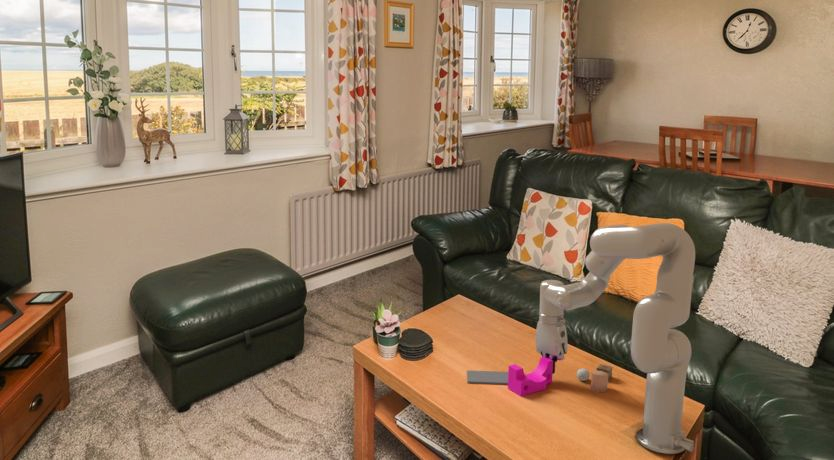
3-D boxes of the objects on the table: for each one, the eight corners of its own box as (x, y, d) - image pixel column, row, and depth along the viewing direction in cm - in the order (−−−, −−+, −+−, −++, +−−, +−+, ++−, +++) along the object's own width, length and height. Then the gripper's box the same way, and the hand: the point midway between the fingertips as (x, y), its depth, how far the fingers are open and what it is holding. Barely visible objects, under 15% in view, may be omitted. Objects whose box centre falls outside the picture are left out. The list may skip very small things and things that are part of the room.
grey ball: (591, 381, 188) (592, 369, 187) (584, 384, 186) (584, 372, 185) (581, 377, 191) (582, 365, 190) (573, 379, 189) (574, 368, 188)
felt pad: (517, 373, 193) (517, 372, 193) (520, 385, 184) (520, 383, 184) (466, 372, 194) (466, 370, 194) (467, 383, 185) (467, 381, 185)
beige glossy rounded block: (610, 389, 182) (611, 374, 181) (601, 393, 179) (602, 378, 178) (597, 384, 186) (597, 369, 185) (587, 388, 183) (588, 373, 182)
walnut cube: (611, 378, 191) (612, 366, 190) (608, 382, 187) (609, 370, 187) (599, 375, 193) (600, 364, 192) (595, 379, 189) (596, 367, 189)
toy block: (520, 396, 176) (521, 373, 175) (507, 388, 181) (508, 365, 180) (557, 385, 183) (558, 363, 182) (544, 377, 189) (545, 356, 187)
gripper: (577, 322, 181) (575, 377, 184) (541, 311, 193) (539, 364, 196) (562, 326, 177) (560, 383, 180) (525, 315, 189) (524, 369, 191)
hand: (549, 373), depth 188 cm, fingers closed
